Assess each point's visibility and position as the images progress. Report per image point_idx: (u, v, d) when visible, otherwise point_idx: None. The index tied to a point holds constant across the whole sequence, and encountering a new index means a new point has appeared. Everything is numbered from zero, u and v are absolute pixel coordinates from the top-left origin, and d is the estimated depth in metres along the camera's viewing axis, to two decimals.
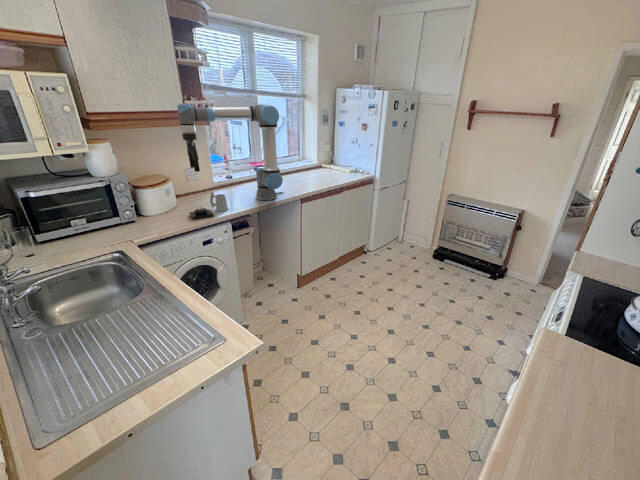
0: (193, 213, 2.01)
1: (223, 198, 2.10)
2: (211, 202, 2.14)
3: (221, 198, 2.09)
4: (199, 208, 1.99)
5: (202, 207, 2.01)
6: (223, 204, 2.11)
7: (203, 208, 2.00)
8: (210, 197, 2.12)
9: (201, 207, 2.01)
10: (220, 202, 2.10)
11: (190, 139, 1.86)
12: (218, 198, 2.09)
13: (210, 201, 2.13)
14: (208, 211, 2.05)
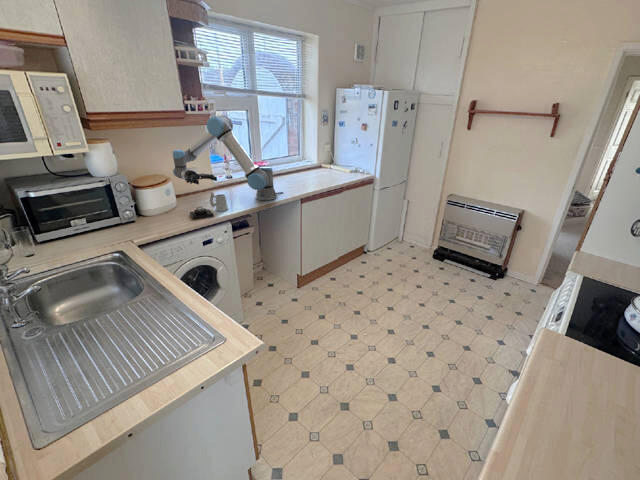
0: (193, 213, 2.01)
1: (223, 198, 2.10)
2: (211, 202, 2.14)
3: (221, 198, 2.09)
4: (199, 208, 1.99)
5: (202, 207, 2.01)
6: (223, 204, 2.11)
7: (203, 208, 2.00)
8: (210, 197, 2.12)
9: (201, 207, 2.01)
10: (220, 202, 2.10)
11: None
12: (218, 198, 2.09)
13: (210, 201, 2.13)
14: (208, 211, 2.05)
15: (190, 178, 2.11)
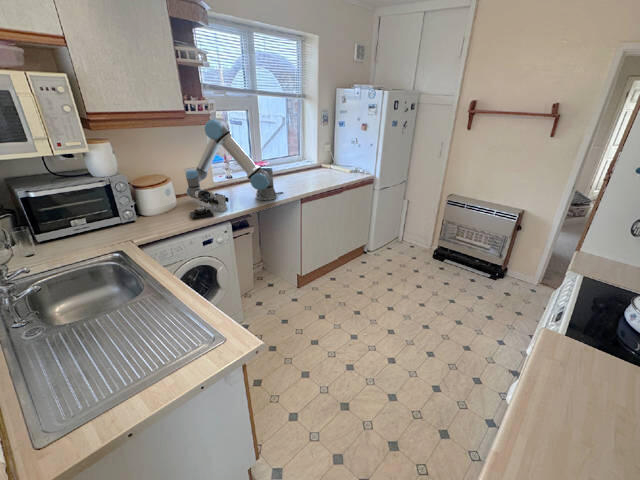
0: (193, 213, 2.01)
1: (222, 198, 2.09)
2: None
3: (220, 198, 2.08)
4: (199, 208, 1.99)
5: (202, 207, 2.01)
6: (222, 204, 2.10)
7: (203, 208, 2.00)
8: (210, 197, 2.12)
9: (201, 207, 2.01)
10: (219, 202, 2.09)
11: None
12: (217, 198, 2.08)
13: None
14: (208, 211, 2.05)
15: (209, 198, 2.11)
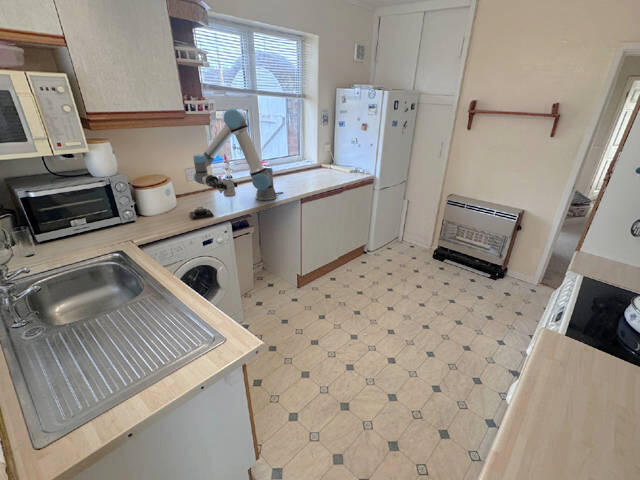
0: (193, 213, 2.01)
1: (230, 183, 2.02)
2: None
3: (228, 183, 2.01)
4: (199, 208, 1.99)
5: (202, 207, 2.01)
6: (230, 189, 2.04)
7: (203, 208, 2.00)
8: (218, 182, 2.05)
9: (201, 207, 2.01)
10: (227, 187, 2.02)
11: None
12: (225, 183, 2.01)
13: None
14: (208, 211, 2.05)
15: (217, 183, 2.04)
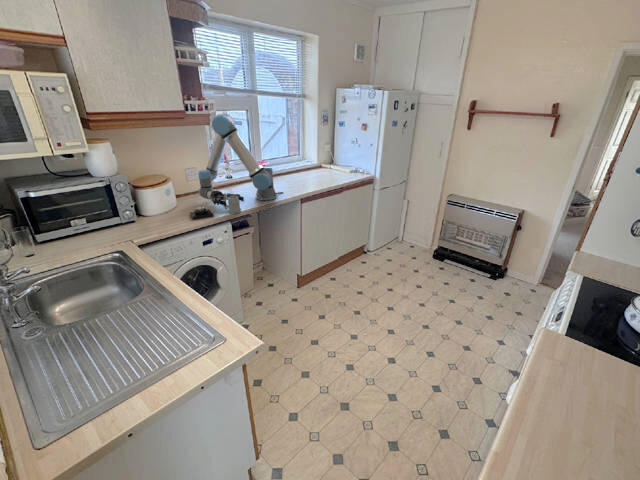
0: (193, 213, 2.01)
1: (236, 200, 2.06)
2: None
3: (234, 200, 2.06)
4: (199, 208, 1.99)
5: (202, 207, 2.01)
6: (236, 206, 2.08)
7: (203, 208, 2.00)
8: None
9: (201, 207, 2.01)
10: (233, 204, 2.06)
11: (213, 198, 2.16)
12: (231, 200, 2.05)
13: None
14: (208, 211, 2.05)
15: (217, 199, 2.07)
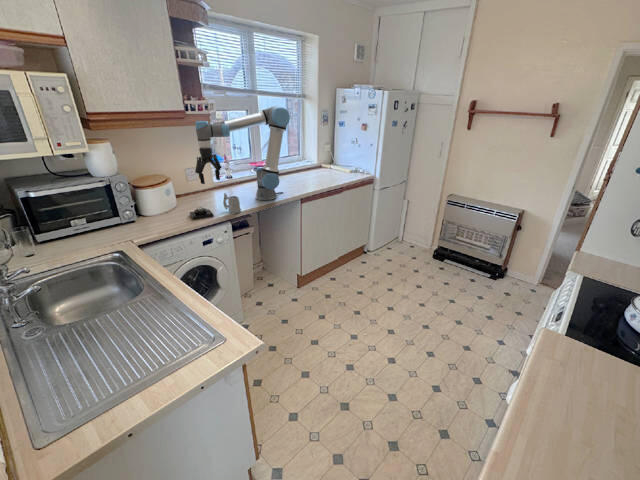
0: (193, 213, 2.01)
1: (236, 200, 2.06)
2: (224, 204, 2.11)
3: (234, 200, 2.06)
4: (199, 208, 1.99)
5: (202, 207, 2.01)
6: (236, 206, 2.08)
7: (203, 208, 2.00)
8: None
9: (201, 207, 2.01)
10: (233, 204, 2.06)
11: (201, 153, 1.99)
12: (231, 200, 2.05)
13: (223, 203, 2.11)
14: (208, 211, 2.05)
15: (201, 171, 2.00)
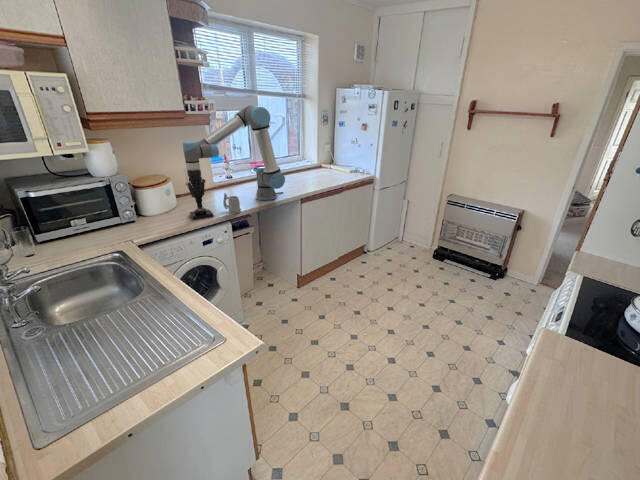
0: (193, 213, 2.01)
1: (236, 200, 2.06)
2: (224, 204, 2.11)
3: (234, 200, 2.06)
4: (199, 208, 1.99)
5: None
6: (236, 206, 2.08)
7: (203, 208, 2.01)
8: None
9: None
10: (233, 204, 2.06)
11: (189, 176, 1.89)
12: (231, 200, 2.05)
13: (223, 203, 2.11)
14: (208, 211, 2.05)
15: (197, 195, 1.96)
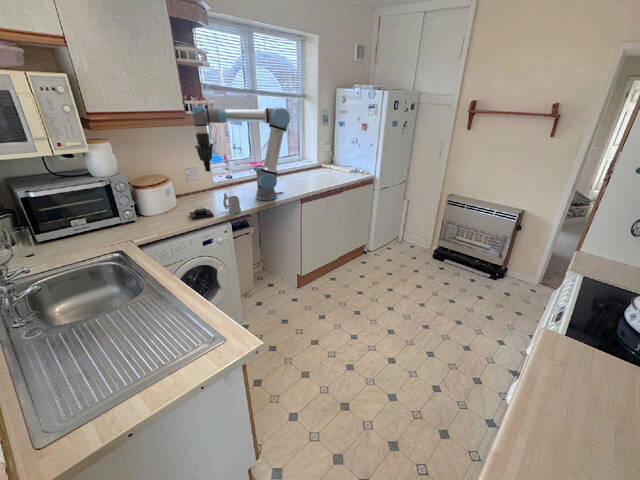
0: (193, 213, 2.01)
1: (236, 200, 2.06)
2: (224, 204, 2.11)
3: (234, 200, 2.06)
4: (199, 208, 1.99)
5: (202, 207, 2.01)
6: (236, 206, 2.08)
7: (203, 208, 2.00)
8: None
9: (201, 207, 2.01)
10: (233, 204, 2.06)
11: (197, 139, 1.99)
12: (231, 200, 2.05)
13: (223, 203, 2.11)
14: (208, 211, 2.05)
15: (205, 158, 2.05)
